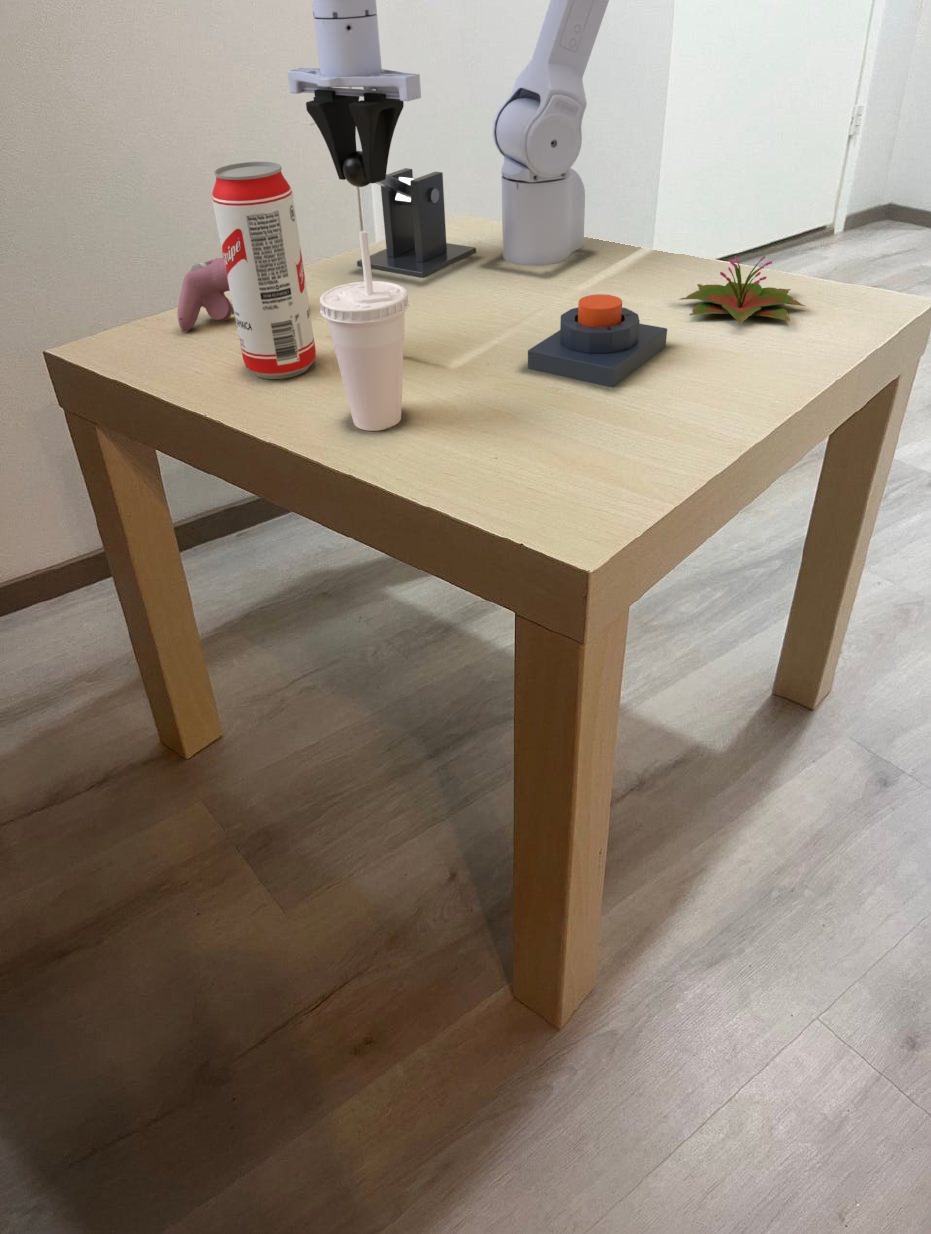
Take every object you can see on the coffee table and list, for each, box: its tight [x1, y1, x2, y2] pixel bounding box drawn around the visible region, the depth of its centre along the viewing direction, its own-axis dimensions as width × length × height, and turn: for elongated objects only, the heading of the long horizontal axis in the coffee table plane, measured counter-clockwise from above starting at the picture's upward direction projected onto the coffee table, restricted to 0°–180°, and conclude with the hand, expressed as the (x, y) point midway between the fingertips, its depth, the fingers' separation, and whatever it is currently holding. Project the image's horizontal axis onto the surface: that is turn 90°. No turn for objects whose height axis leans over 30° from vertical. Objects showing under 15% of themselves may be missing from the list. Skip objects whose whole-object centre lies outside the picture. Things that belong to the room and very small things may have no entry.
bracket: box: [356, 167, 477, 279], centre depth 100 cm, size 10×9×9 cm
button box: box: [527, 306, 668, 388], centre depth 79 cm, size 10×8×4 cm
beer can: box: [211, 161, 317, 380], centre depth 77 cm, size 6×6×16 cm
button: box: [577, 293, 623, 327], centre depth 78 cm, size 4×4×2 cm
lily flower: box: [677, 255, 806, 325], centre depth 87 cm, size 12×12×5 cm
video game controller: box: [177, 257, 233, 333], centre depth 90 cm, size 10×5×7 cm, turn 84°
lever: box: [343, 150, 417, 207], centre depth 95 cm, size 12×3×3 cm, turn 145°
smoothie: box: [319, 230, 410, 432], centre depth 68 cm, size 6×6×14 cm
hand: (362, 179), depth 92 cm, fingers closed on lever, 3 cm apart
